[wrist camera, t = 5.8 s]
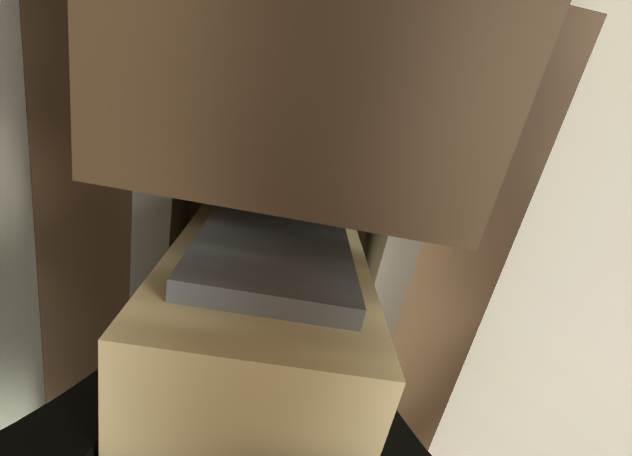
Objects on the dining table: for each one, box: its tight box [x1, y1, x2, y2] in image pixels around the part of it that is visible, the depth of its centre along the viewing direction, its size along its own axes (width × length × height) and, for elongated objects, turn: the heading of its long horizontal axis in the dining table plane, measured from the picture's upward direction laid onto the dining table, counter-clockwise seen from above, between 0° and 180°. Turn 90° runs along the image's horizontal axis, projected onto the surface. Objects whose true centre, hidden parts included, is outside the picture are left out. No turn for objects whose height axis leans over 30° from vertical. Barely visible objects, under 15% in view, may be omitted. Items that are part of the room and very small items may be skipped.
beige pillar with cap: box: [98, 204, 406, 456], centre depth 10 cm, size 4×8×7 cm, turn 169°
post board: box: [19, 0, 607, 451], centre depth 13 cm, size 16×28×7 cm, turn 169°
